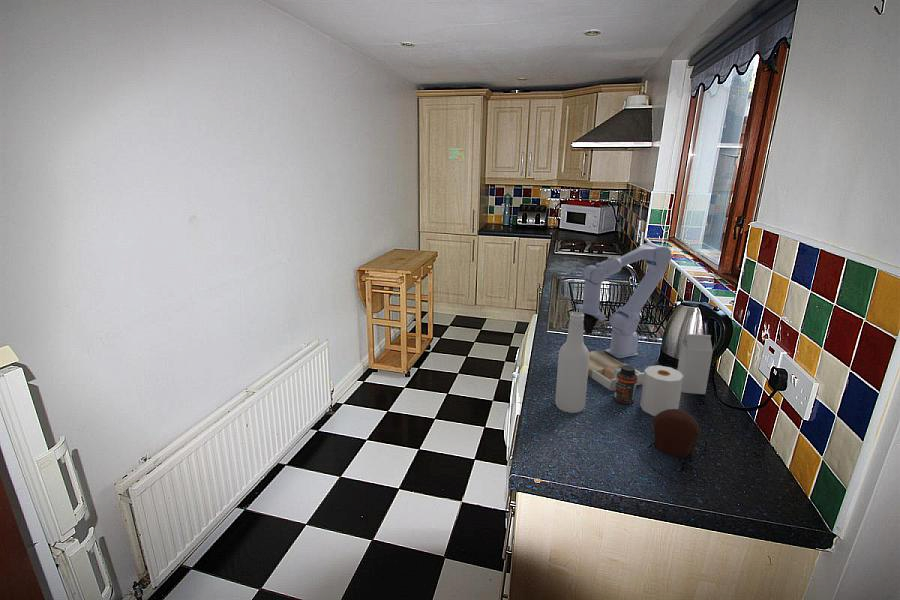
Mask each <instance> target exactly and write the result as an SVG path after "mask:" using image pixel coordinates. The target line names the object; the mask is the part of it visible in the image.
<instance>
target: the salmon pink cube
mask: <svg viewBox="0 0 900 600" xmlns="http://www.w3.org/2000/svg"><path fill="white" fill-rule="evenodd" d="M614 369H619V368H618V367H616V366H611V367H606V368H604V376H605V377H607V378H608V379H610V380H611V379H613V376H614Z"/></svg>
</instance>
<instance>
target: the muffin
mask: <svg viewBox="0 0 900 600" xmlns="http://www.w3.org/2000/svg"><path fill="white" fill-rule="evenodd" d="M652 424H653V425H652V426H653V427H654V429H653V432H654V433H653V434H654V445H655V446H654V448H656V449H657V450H659V451H660V452H661V453H662V454H665V455H668V456H671V457H673V458H686V457H688V456H689V455H692V453H693V450H694V448H695V447H696V444H697V441H698V438H699V436H700V434H701V432H702V429H701V427H700V426H699V424H698V422H697V420H696V418H694V416H692V415H691V414H690V413H689V412H686V411H684V410H682V409H679V408H678V409H667V410H664V411H662V412H660V413H659V414H657V415H656V416H653V418H652Z"/></svg>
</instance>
